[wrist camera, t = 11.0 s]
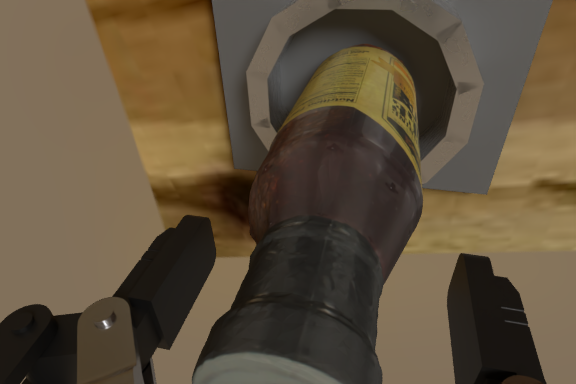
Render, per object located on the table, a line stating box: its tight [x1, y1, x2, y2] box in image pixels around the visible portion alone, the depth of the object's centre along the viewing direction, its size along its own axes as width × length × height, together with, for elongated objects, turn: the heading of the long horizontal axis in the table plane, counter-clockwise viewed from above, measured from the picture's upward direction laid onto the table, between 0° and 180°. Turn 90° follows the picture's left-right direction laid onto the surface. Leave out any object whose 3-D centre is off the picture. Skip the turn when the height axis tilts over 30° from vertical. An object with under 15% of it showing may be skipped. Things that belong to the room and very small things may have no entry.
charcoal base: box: [212, 0, 553, 195], centre depth 24 cm, size 18×14×1 cm
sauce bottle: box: [192, 44, 423, 384], centre depth 16 cm, size 6×6×20 cm
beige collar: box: [246, 0, 484, 184], centre depth 23 cm, size 12×12×3 cm
